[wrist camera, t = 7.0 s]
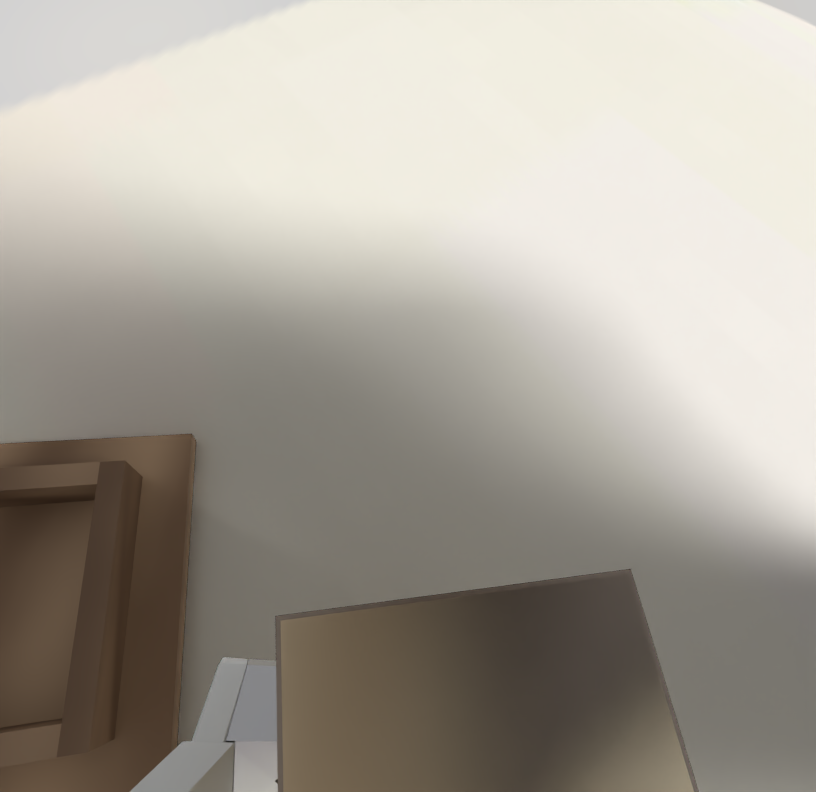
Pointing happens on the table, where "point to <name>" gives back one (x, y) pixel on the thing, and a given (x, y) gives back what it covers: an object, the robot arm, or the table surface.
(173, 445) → the dock
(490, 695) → the tall wooden pillar
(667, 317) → the table surface
